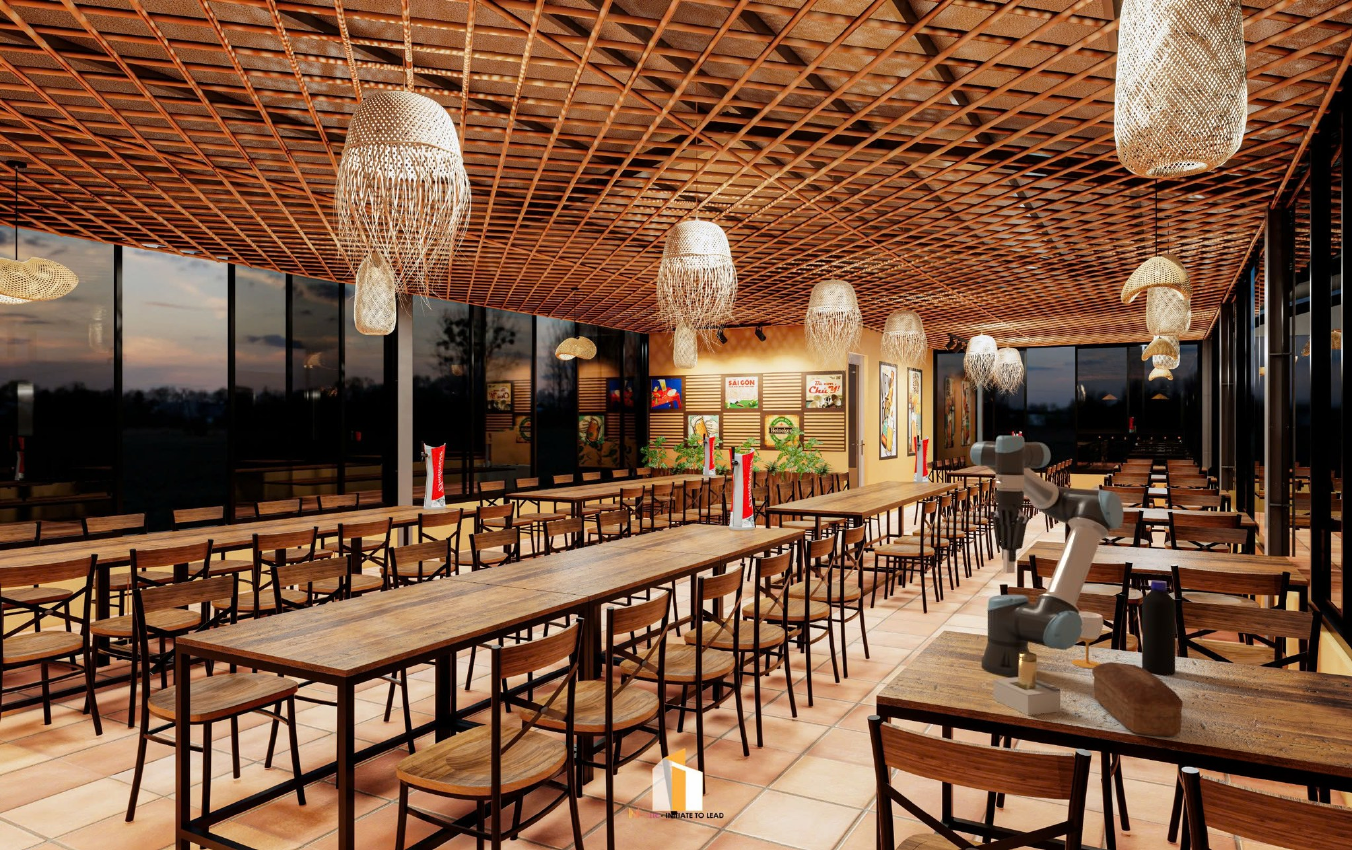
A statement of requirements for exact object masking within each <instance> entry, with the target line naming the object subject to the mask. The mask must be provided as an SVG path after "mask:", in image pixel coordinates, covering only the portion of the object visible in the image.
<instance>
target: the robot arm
mask: <svg viewBox="0 0 1352 850" xmlns="http://www.w3.org/2000/svg"><path fill="white" fill-rule="evenodd" d="M969 456H970V460H971V462H972V464H974V465H975V466H980V467H987V468H988V469H989V470H991V471H993V472H994V473H995V483H994V485H995V486H994V487H995V488H996V490H994V493H995V495H994V500H995V501H994V502H995V503H997V506H996V509H995V510H994V511H990V513H989V514H990V517H991V520H992V526H993V531H994V537H995V543H996V546H998V547H1000V549H1002V550H1001V555H1002V556H1001V559H1002V564H1003V565H1002V573H1003V574H1004V573H1005V574H1015V573H1016V572H1015V571H1016V570H1015V568H1016V561H1017V550H1020V549H1022V548H1023V544H1024V540H1025V534H1026V530H1027V525H1028V522H1029V521H1030V517H1029V516H1028V515H1025V514H1024V513H1023V508H1022V505H1023V504H1024V502H1025V497H1026V498H1028V499H1029V501H1030V504H1031V505H1032V506H1033V507H1034V508H1036V509H1037V510H1038V511H1039V512H1041V513H1043V514H1045V515H1046V516H1048V517H1049V518H1052V519H1053V520H1056V521H1058V522H1060V523H1063V524H1068V526H1069V528H1070V531H1069V534H1068V536H1067V538H1066V541H1065V543H1064V546H1063V549H1062V551H1061V554H1060V556H1059V559H1058V561H1057V564H1056V567H1055V569H1054V571H1053V574H1052V576H1051V579H1050V582H1049V584H1048V586H1047V589H1046V591H1045V592H1044V593H1041V594H1039V595H1038V597H1037V599H1036V601H1035V603H1033V602H1030V599H1029V597H1028V596H1027V595H1021V594H1002V595H994V596H990V598H989V599H988V602H987V610H986V612H987V644H986V647H985V650H984V653H983V656H982V657H981V668H982V669H983V670H984V671H986V672H988V673H991V674H994V675H998V676H999V675H1000V676H1004V677H1005V676H1006V677H1010V678H1014V677H1018V672H1019V652H1030V650H1029V643H1032V644H1035V645H1039V646H1043V647H1046V648H1050V649H1053V650H1054V649H1056V650H1061V651H1065V650H1069V649H1072V648H1073V647H1074V646H1075V645H1076V644H1077V643H1078V641H1079V640H1080V635H1081V632H1082V628H1081V626H1082V619H1081V617H1080V615H1079V612H1080V610H1079V608H1078V607H1077V603H1078V600H1079V597H1080V595H1081V592H1082V589H1083V587H1084V585H1085V582H1086V578H1087V577H1088V574H1089V571H1090V569H1091V566H1092V563H1093V560H1094V558H1095V555H1096V552H1097V550H1098V547H1099V544H1100V541H1101V540H1103V539H1106V538H1108V536H1109V534H1110V531H1111V530H1117V529H1119V528H1120V527H1121V526H1122V525H1123V521H1124V506H1123V503H1122V499H1121V498H1120V496H1119V495H1118V494H1117V493H1116V492H1114V491H1110V490H1103V489H1087V488H1086V489H1085V488H1073V487H1065V486H1064V487H1063V486H1058V485H1056V484H1055V483H1053V482H1052V481H1046V480H1045V479H1043V477H1041V476H1040V475H1038V474H1037V473H1036V472H1035V471H1034V470H1032V469H1035V470H1036V469H1041V468H1044V467H1046V466H1047V465H1048V464H1049V462H1050V461H1051V457H1052V455H1051V451H1050V448H1049V447H1048V445H1046V444H1045V443H1043V442H1037V441H1034V442H1033V441H1032V442H1027V441H1026V442H1025V438H1024V436H1022V435H998V436H997V437H996V440H995V441H987V440H985V441H977V442H975V443H973V444H972V445H971V448H970V452H969Z"/></svg>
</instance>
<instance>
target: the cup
mask: <svg viewBox="0 0 1352 850" xmlns="http://www.w3.org/2000/svg"><path fill="white" fill-rule="evenodd" d="M1079 615H1080V617H1081V619H1082V626H1081V628H1082V632H1081V635H1080V638H1079V640H1081V641H1083V642H1085V659H1073V660H1071V662H1070V663H1072V664H1073V665H1074V666H1076V667H1080V668H1082V669H1083V668H1084V669H1092V670H1093V668H1094V667H1095V666H1097V665H1099V664H1101V663H1100V662H1098V661H1094V660H1089V657H1090V651H1089V650H1090V648H1089V647H1090V643H1092V642H1095V641H1096V640H1098V639H1099V637H1100V636H1101V634H1102V631H1103V627H1104V626H1103V625H1104V617H1103V615H1101V614H1099V613H1096V612H1091V611H1079Z"/></svg>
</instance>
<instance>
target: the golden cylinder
mask: <svg viewBox="0 0 1352 850" xmlns="http://www.w3.org/2000/svg"><path fill="white" fill-rule="evenodd" d="M1037 657H1038V654H1037V653H1034V652H1031V651H1029V652H1019V672H1018V687H1019V688H1021V689H1024V690H1032V689H1036V679H1037V659H1038V658H1037Z"/></svg>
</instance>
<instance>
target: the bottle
mask: <svg viewBox="0 0 1352 850" xmlns="http://www.w3.org/2000/svg"><path fill="white" fill-rule="evenodd" d="M1150 583H1151V584H1150V591H1149V592H1148V593H1147V594H1146V595H1144V596H1143V597H1142V600H1141V601H1142V606H1141V607H1142V609H1141V610H1142V612H1141V613H1142V614H1141V615H1142V617H1141V618H1142V619H1141V622H1142V625H1141V626H1142V628H1141V630H1142V631H1141V632H1142V634H1141V635H1142V636H1141V637H1142V640H1141V641H1142V642H1141V644H1142V645H1141V668H1143V669H1145V670H1147V671H1148V672H1150V673H1152V674H1153V675H1158V676H1159V675H1160V676H1173V675H1175V674H1176V619H1177V618H1176V616H1177V615H1176V609H1177V607H1176V606H1177V605H1176V601H1175V599H1174V598H1173V597H1172V596H1171V595H1170V594H1169V593H1168V590H1167V586H1168V585H1167V582H1166V581H1163V580H1151V581H1150Z"/></svg>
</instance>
